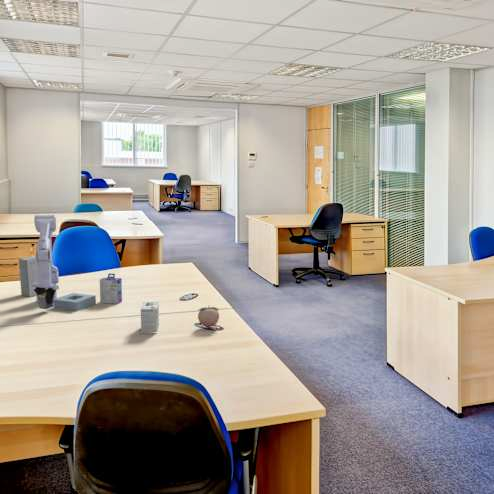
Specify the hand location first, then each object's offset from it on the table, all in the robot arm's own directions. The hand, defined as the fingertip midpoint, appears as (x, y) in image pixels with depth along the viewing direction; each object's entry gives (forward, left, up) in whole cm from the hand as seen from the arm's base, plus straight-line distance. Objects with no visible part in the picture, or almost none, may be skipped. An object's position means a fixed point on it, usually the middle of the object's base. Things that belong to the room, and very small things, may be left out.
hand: (46, 303), depth 244 cm
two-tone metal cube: (0, 0, -2) cm, 2 cm away
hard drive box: (-30, +26, -5) cm, 40 cm away
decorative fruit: (+81, +9, -5) cm, 82 cm away
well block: (+5, +14, -4) cm, 15 cm away
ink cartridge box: (+17, +27, -5) cm, 32 cm away
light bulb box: (+59, -3, -5) cm, 59 cm away
